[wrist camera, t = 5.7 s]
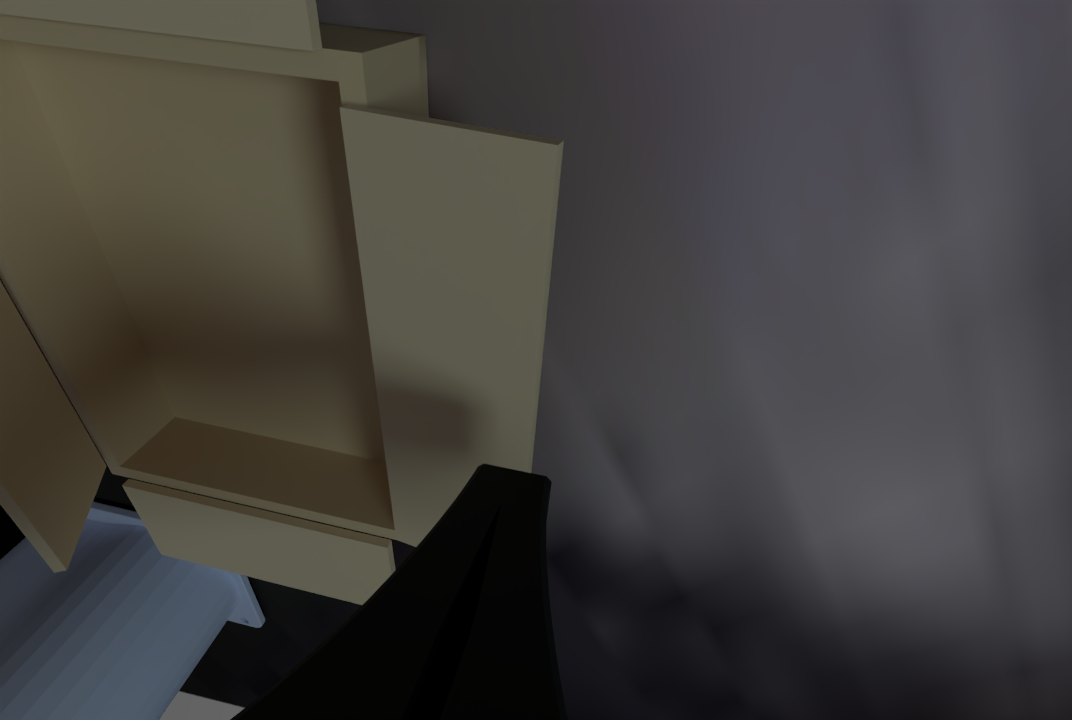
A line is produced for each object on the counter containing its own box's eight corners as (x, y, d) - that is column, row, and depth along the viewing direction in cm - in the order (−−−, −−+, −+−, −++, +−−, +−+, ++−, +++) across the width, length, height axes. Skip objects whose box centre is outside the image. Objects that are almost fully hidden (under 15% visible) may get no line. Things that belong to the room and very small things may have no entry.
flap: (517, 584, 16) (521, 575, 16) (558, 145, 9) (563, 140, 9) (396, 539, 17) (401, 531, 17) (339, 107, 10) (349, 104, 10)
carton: (204, 485, 24) (144, 550, 21) (-118, -260, 11) (-377, -332, 8) (446, 540, 23) (415, 618, 20) (414, -234, 9) (310, -311, 7)
